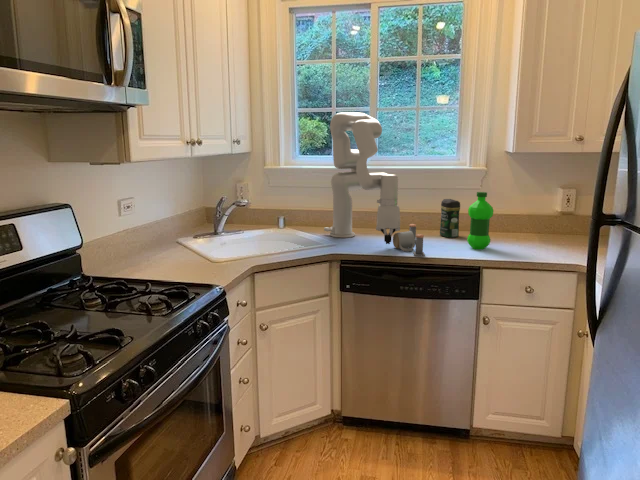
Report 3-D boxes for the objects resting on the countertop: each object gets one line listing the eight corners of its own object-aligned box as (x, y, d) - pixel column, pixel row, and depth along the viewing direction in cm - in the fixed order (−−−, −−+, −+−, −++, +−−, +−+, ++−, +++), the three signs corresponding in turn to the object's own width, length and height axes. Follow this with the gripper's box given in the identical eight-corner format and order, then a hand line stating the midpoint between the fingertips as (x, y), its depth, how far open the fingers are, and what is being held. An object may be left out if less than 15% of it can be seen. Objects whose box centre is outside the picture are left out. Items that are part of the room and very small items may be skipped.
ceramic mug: (391, 246, 224) (392, 230, 222) (408, 245, 226) (409, 229, 224) (400, 252, 214) (400, 235, 212) (417, 251, 216) (418, 234, 214)
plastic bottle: (461, 246, 225) (465, 191, 219) (482, 245, 227) (486, 190, 222) (473, 251, 215) (477, 194, 210) (495, 250, 218) (499, 193, 213)
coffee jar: (437, 234, 251) (438, 198, 247) (451, 234, 253) (453, 197, 249) (446, 238, 242) (448, 200, 238) (461, 237, 244) (463, 200, 240)
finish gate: (414, 256, 207) (415, 236, 206) (406, 241, 235) (407, 223, 233) (424, 256, 207) (425, 236, 205) (416, 241, 235) (417, 223, 233)
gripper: (371, 203, 214) (371, 245, 218) (406, 203, 213) (405, 245, 217) (371, 201, 222) (370, 241, 225) (405, 201, 220) (403, 241, 224)
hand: (387, 243), depth 221 cm, fingers closed
